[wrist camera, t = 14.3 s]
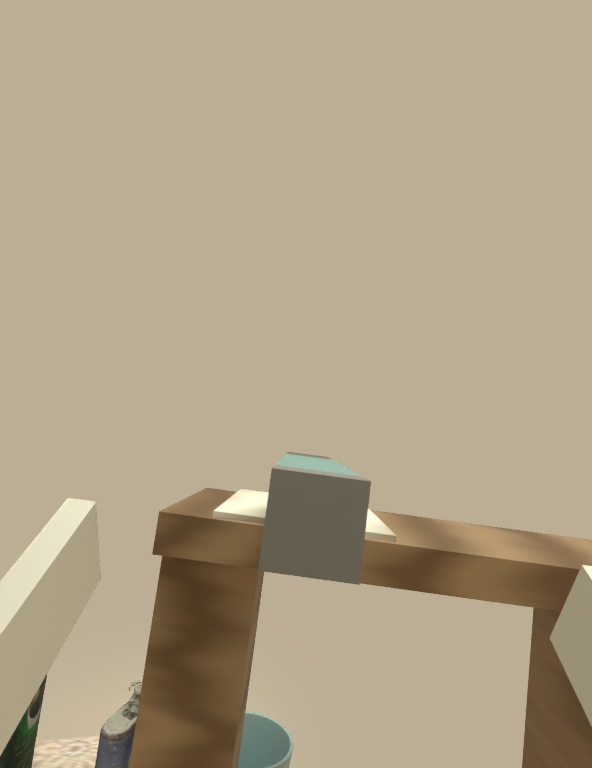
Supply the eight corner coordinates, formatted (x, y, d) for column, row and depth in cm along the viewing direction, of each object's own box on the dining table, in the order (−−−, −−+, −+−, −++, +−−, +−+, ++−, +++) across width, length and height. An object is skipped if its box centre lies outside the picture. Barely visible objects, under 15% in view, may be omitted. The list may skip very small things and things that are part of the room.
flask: (98, 859, 38) (122, 713, 39) (69, 844, 39) (93, 702, 40) (166, 787, 47) (183, 669, 48) (140, 776, 48) (158, 660, 49)
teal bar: (257, 570, 14) (272, 467, 15) (282, 492, 36) (287, 451, 37) (359, 584, 14) (370, 481, 15) (322, 497, 36) (327, 457, 37)
